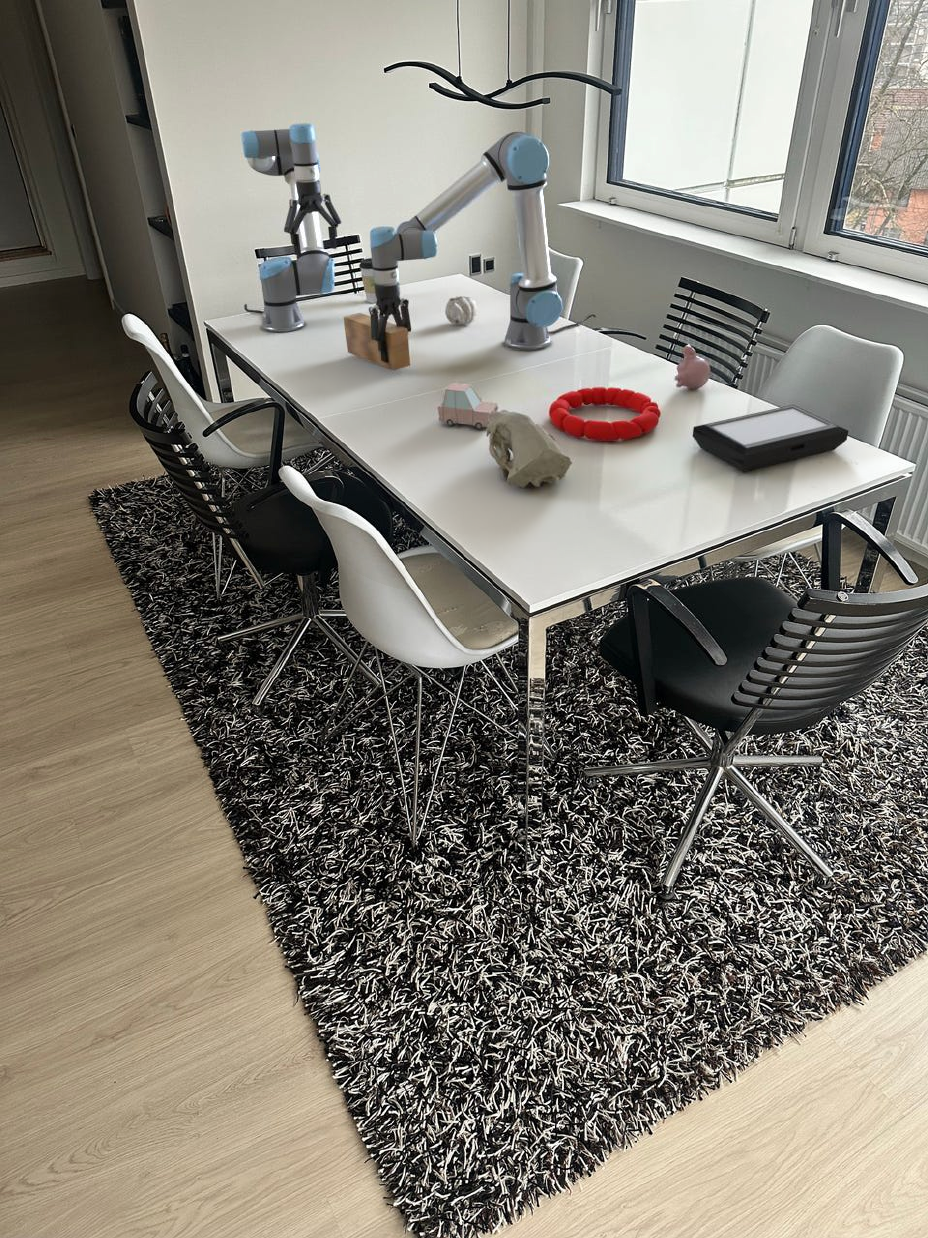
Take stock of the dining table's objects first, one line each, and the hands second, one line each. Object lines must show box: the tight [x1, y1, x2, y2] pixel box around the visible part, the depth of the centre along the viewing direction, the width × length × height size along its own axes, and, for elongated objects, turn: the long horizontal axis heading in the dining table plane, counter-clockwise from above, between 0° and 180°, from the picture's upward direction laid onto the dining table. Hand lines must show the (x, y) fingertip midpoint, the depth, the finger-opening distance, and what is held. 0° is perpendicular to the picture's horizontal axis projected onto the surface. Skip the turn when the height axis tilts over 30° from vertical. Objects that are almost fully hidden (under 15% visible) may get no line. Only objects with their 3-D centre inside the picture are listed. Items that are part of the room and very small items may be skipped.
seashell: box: [444, 295, 478, 326], centre depth 319 cm, size 10×15×10 cm
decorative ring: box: [548, 386, 661, 442], centre depth 242 cm, size 7×30×30 cm
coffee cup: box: [358, 257, 377, 304], centre depth 348 cm, size 10×10×15 cm
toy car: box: [437, 382, 499, 431], centre depth 243 cm, size 9×15×10 cm, turn 70°
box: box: [343, 312, 411, 371], centre depth 285 cm, size 26×6×12 cm, turn 40°
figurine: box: [674, 344, 711, 390], centre depth 259 cm, size 9×11×12 cm
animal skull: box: [485, 409, 573, 489], centre depth 216 cm, size 17×25×20 cm
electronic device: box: [692, 404, 850, 473], centre depth 224 cm, size 32×6×20 cm
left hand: (316, 251), depth 291 cm, fingers open, 13 cm apart
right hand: (393, 358), depth 281 cm, fingers closed on box, 6 cm apart
